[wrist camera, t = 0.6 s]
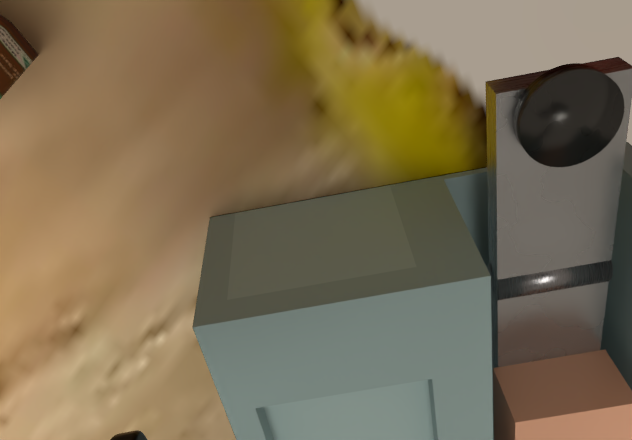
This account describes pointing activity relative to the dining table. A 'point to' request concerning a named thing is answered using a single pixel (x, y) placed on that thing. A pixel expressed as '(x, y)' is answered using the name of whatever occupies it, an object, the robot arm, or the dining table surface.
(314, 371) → the jig
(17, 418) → the dining table surface
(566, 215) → the lever
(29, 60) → the food container
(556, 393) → the salmon orange rectangular block
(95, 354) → the dining table surface
